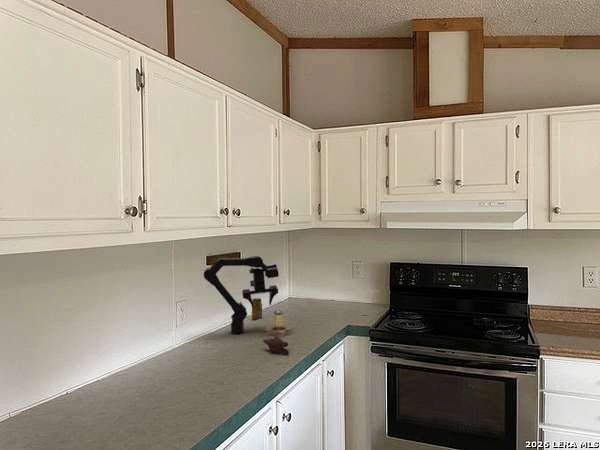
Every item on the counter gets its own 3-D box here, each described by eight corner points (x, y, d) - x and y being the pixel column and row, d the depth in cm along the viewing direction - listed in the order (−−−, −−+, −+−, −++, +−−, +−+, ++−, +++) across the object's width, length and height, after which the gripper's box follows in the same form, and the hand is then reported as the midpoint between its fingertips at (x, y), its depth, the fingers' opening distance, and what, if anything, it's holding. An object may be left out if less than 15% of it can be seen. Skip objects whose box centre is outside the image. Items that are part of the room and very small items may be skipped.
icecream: (256, 337, 192) (282, 346, 183) (267, 329, 197) (292, 338, 188) (258, 350, 194) (283, 360, 185) (269, 343, 199) (294, 351, 190)
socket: (281, 338, 212) (281, 332, 212) (265, 335, 217) (265, 329, 217) (292, 333, 220) (292, 327, 220) (276, 330, 226) (276, 325, 225)
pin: (279, 336, 216) (279, 312, 215) (272, 335, 218) (272, 311, 218) (284, 334, 219) (284, 311, 219) (277, 332, 222) (277, 310, 221)
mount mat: (274, 332, 222) (274, 332, 222) (261, 330, 227) (261, 329, 227) (284, 328, 229) (284, 328, 229) (271, 326, 234) (271, 325, 234)
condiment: (258, 316, 258) (258, 297, 258) (266, 319, 251) (266, 299, 251) (248, 318, 253) (248, 298, 253) (256, 321, 247) (256, 300, 247)
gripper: (274, 271, 234) (276, 297, 238) (240, 276, 230) (242, 302, 234) (277, 279, 223) (279, 306, 227) (241, 284, 220) (244, 311, 224)
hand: (261, 306), depth 228 cm, fingers open, 9 cm apart
